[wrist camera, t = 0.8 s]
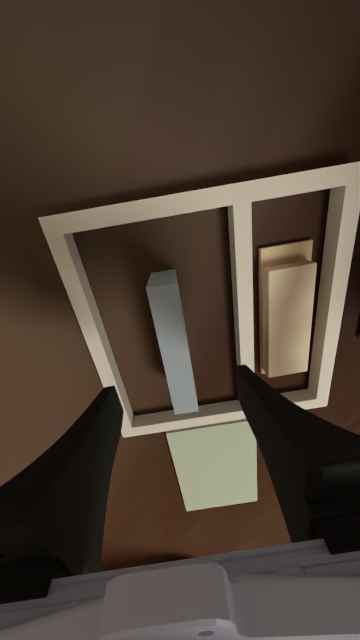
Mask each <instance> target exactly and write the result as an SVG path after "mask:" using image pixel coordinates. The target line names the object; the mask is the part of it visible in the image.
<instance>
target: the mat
mask: <svg viewBox="0 0 360 640" xmlns="http://www.w3.org/2000/svg"><path fill="white" fill-rule="evenodd" d="M166 436H167V440H168V444H169V447H170V451H171V455H172V459H173V462H174V466H175V470H176V474H177V477H178V481H179V485H180V489H181V492H182V496H183V500H184V504H185V507H186V511H192V510H199V509H206V508H212V507H219V506H226V505H233V504H239V503H246V502H253V501H257V453H256V439H255V436H254V434H253V432H252V430H251V428H250V426H249V423H248V421H247V419H241V420H234V421H228V422H221V423H215V424H209V425H202V426H196V427H189V428H183V429H176V430H170V431H166Z"/></svg>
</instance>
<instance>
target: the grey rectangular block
mask: <svg viewBox="0 0 360 640" xmlns="http://www.w3.org/2000/svg"><path fill="white" fill-rule="evenodd" d="M146 291H147V295H148V299H149V304H150V308H151V312H152V317H153V321H154V326H155V330H156V334H157V339H158V343H159V347H160V352H161V356H162V360H163V365H164V369H165V373H166V378H167V382H168V387H169V391H170V395H171V400H172V404H173V408H174V413H175V415H177V414H183V413H190V412H196V411H199V409H198V403H197V397H196V390H195V384H194V378H193V372H192V366H191V360H190V354H189V347H188V341H187V335H186V329H185V323H184V317H183V311H182V305H181V299H180V293H179V287H178V281H177V275H176V269H172V270H166V271H160V272H154V273H151V274H150V277H149V280H148V283H147V286H146Z"/></svg>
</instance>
